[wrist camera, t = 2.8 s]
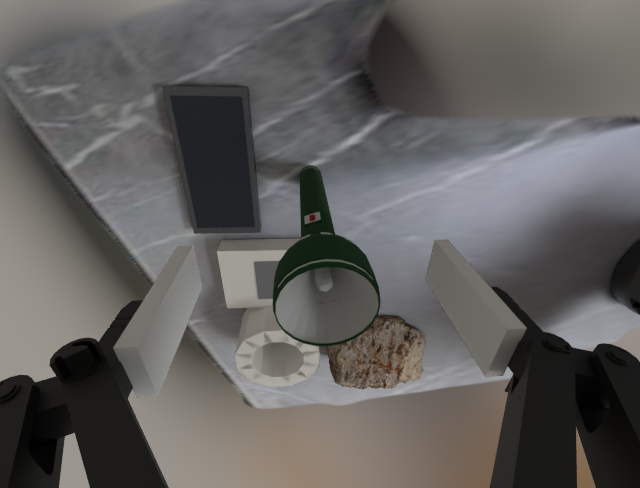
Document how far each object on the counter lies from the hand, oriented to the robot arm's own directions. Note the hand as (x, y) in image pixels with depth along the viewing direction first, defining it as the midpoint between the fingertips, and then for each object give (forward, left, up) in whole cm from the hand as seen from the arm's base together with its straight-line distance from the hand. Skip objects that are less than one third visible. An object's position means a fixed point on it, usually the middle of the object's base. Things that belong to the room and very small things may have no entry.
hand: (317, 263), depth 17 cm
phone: (+9, -1, -16) cm, 19 cm away
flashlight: (0, 0, -17) cm, 17 cm away
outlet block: (+4, +16, -16) cm, 23 cm away
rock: (-10, +25, -17) cm, 32 cm away
